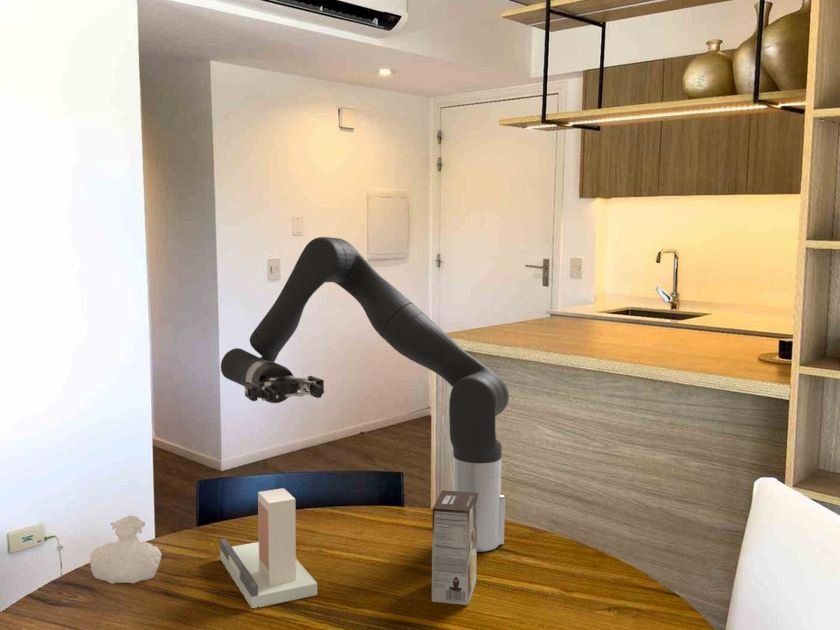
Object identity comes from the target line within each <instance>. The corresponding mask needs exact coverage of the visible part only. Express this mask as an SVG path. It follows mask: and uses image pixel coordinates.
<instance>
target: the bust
mask: <svg viewBox="0 0 840 630" xmlns="http://www.w3.org/2000/svg"><path fill="white" fill-rule="evenodd" d="M110 525H111V526H112V527H111V528H112V530H115V532H114V533H115V535H116V536H117V538H118V540H117V541H115V542H109V543H105V544H104V545H102V546H97V547H96V548H95V549H94V550H93V551H92V552H90V553H91V554H90V558H89V563H90V570H91V573H92V575H93V577H94V578H95V579H96V580H100V581H103V582H104V581H106V582H107V583H110V584H122V583H123V584H127V583H129V584H137V583H138V582H141V581H146V580H150V579H153V578H154V577H155V575H156V573H157V571H158V568H159V565H160V562H161V559H162V552H161V550H160V549H159V548H158V547H157V546H155V545H152V544H151V543H149V542H146V541H143V542H140V539H139V538H138V535H137V534H140V535H141V534H142V533H143V527H145V526H146V522H145V521H143V520H141V519H140V518H139V517H138V516H135V515H132V514H130V515H127V516H124V517H121V519H120V518H119V520H115V522H114V521H112V522H110Z"/></svg>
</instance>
